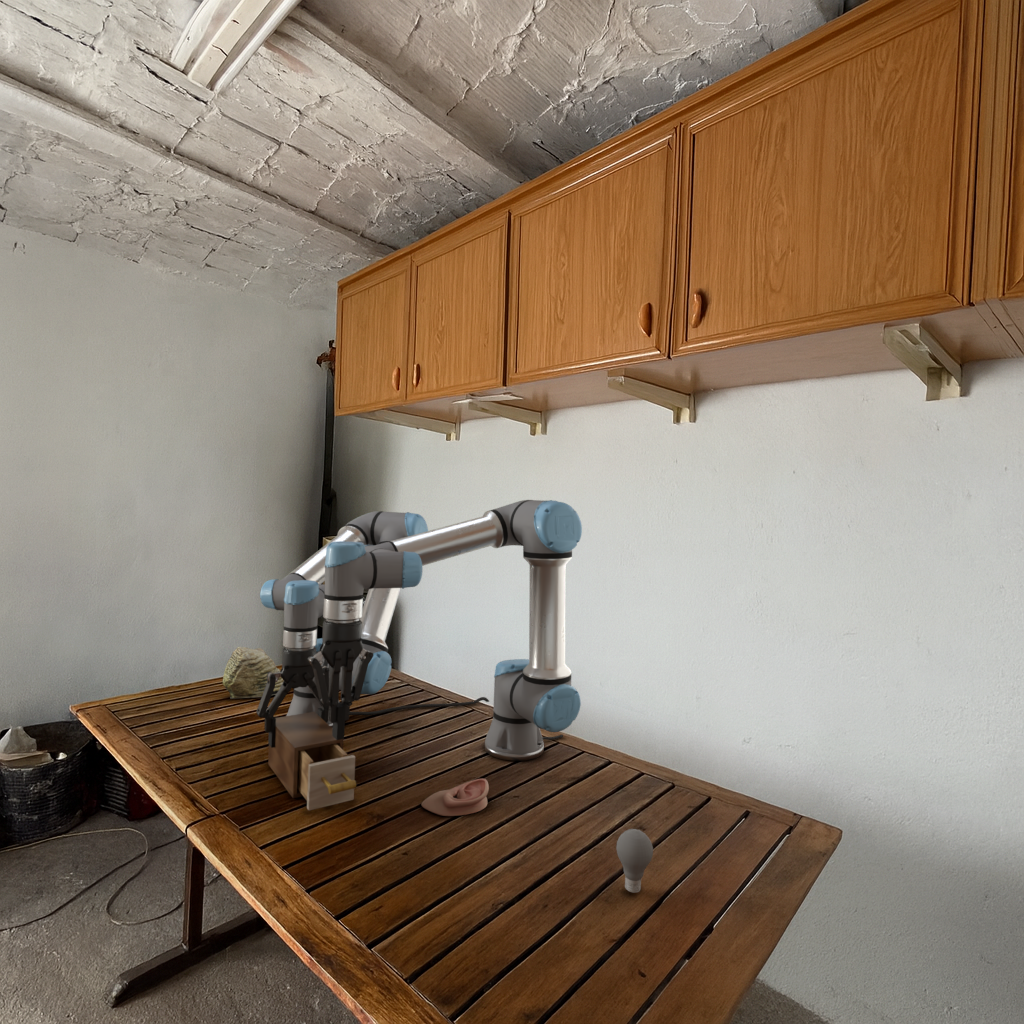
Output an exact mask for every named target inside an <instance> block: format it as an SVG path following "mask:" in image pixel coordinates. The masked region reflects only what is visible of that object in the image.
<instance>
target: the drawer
mask: <svg viewBox="0 0 1024 1024" xmlns="http://www.w3.org/2000/svg"><path fill="white" fill-rule="evenodd" d="M355 776H356V756H355V755H354V754H351V755H348V753H347V752H346V751H345V750H344V749H343V750H342V749H341V748H340V747H339V746H338V745H337V744H331V745H326V746H321V747H315V748H310V749H305V750H300V751H298V778H297V788H298V790H299V791H300V792H301V794H302V795H303V796H302V797H303V798H304V799H305V801H306V809H307V811H313V810H317V809H321V808H325V807H329V806H334V805H338V804H342V803H346V802H349V801H354V800H355V789H356V788H357V781H356V780H355V779H356V777H355Z"/></svg>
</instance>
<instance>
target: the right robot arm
mask: <svg viewBox="0 0 1024 1024" xmlns="http://www.w3.org/2000/svg"><path fill="white" fill-rule="evenodd" d="M582 534H583V525H582V521H581V517H580V515H579V514H578V512H577V511H576V510H575V509H574V508H573V507H572V506H571V505H570V504H568V503H566V502H563V501H558V500H554V499H549V500H541V499H540V500H539V499H538V500H537V499H536V500H535V499H523V500H519V501H516V502H515V501H514V502H512V503H509V504H506V505H502V506H499V507H496V508H494V509H490V510H486V511H485V512H484V513H483V514H482V516H479V517H476V518H471V519H469V520H465V521H461V522H457V523H453V524H449V525H445V526H442V527H439V528H435V529H431V530H428V531H427V532H423V533H419V534H415V535H412V536H408V537H404V538H401V539H397V540H393V541H390V542H386V543H382V544H378V545H364V544H363V543H361V542H348V541H337V542H331V543H330V544H329V545H328V546H327V550H326V560H325V581H324V585H325V594H324V610H323V617H322V618H324V621H323V622H322V635H321V636H322V637H321V638H322V645H321V647H320V651H319V652H318V653H317V654H315V655H314V656H309V657H308V661H309V663H310V664H311V666H312V667H313V672H314V676H315V681H316V686H317V691H318V695H319V700H320V702H322V703H323V704H324V705H328V706H329V716H328V719H329V721H330V722H331V723H333V728H332V736H333V737H334V738H335V739H336V740H341V739H345V731H346V729H345V728H346V727H345V726H346V721H349V720H350V715H349V714H350V713H349V712H351V711H350V709H351V706H352V705H353V702H355V701H359V700H360V698H361V695H362V694H361V691H362V687H363V683H364V679H365V675H366V671H367V668H368V664H369V662H370V661H371V659H372V658H373V653H372V652H370V651H368V650H365V649H364V648H363V644H362V642H361V636H362V622H361V620H359V619H360V618H361V617H362V609H363V606H364V590H369V589H372V588H401V589H404V590H405V588H406V589H407V588H415V587H417V586H418V585H419V584H420V583H421V581H422V579H423V568H424V567H423V566H426V565H430V564H434V563H437V562H441V561H445V560H447V559H451V558H454V557H458V556H461V555H464V554H467V553H471V552H475V551H478V550H481V549H484V548H489V547H492V548H493V549H499V548H503V547H510V546H519V547H520V546H521V547H522V550H523V551H522V558H523V559H524V560H525V561H526V562H527V564H528V565H529V600H528V601H529V609H528V610H529V614H528V615H529V616H528V617H529V621H528V623H529V624H528V626H529V629H528V631H529V633H528V635H529V637H528V639H529V640H528V641H529V642H528V643H529V644H528V651H529V652H528V658H527V659H526V658H514V659H505V660H501V661H499V662H498V663H497V664H496V665H495V669H494V676H493V678H494V683H493V686H494V687H493V688H494V689H493V708H492V709H493V710H492V711H493V713H492V720H491V723H490V726H489V729H488V731H487V734H486V737H485V740H484V750H485V752H486V753H487V754H488V755H490V756H492V757H493V758H496V759H500V760H503V761H510V762H522V761H531V760H534V759H537V758H539V757H540V756H542V755H543V754H544V752H545V743H544V741H555V740H558V739H562V738H564V734H559V735H556V736H543V735H542V731H541V730H544V731H547V732H549V733H558V732H563V731H564V730H566V729H568V728H569V727H570V726H571V725H572V724H573V722H574V721H575V720H576V719H577V718H578V716H579V713H580V711H581V706H582V699H581V695H580V693H579V691H577V689H576V687H575V686H573V685H572V670H571V668H569V667H568V665H567V664H566V590H567V589H566V585H567V584H566V577H567V576H566V575H567V574H566V570H567V569H566V568H567V567H566V566H567V564H568V563H569V562H570V561H571V560H572V559H573V550H574V549H575V548H576V547H577V546H578V543H580V541H581V539H582ZM359 654H360V655H359ZM358 656H359V658H360V659H359V661H358V664H357V668H356V672H355V676H354V679H353V683H352V671H353V663H354V661H355V660H356V659H357V657H358ZM323 657H324V659H325V660H326V661H327V663H328V664H329V693H328V692H327V687H326V682H325V677H324V672H323V668H322V666H321V664H322V663H323V661H322V658H323ZM341 668H342V681H341V690H339V675H340V671H341ZM339 696H340V697H339ZM339 698H340V699H339ZM338 699H339V700H340V701H339V702H340V703H338Z"/></svg>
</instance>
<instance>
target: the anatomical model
mask: <svg viewBox="0 0 1024 1024" xmlns="http://www.w3.org/2000/svg"><path fill="white" fill-rule="evenodd" d="M489 787H490V785H489V782H488V780H487V779H486V778H477V779H473V780H469V781H467V782H464V783H461V784H459V785H456V786H454V787H452V788H449V789H445V790H439V791H437V792H434V793H432V794H430V795H429V796H427V797H426V798H425V799H424V800H423V801H422V802H421V807H422V808H423V809H425V810H427V811H429V812H431V813H432V814H436V815H438V816H443V817H455V816H456V817H457V816H466V815H470V814H474V813H477V812H481V811H482V810H484V809H485V808H486V807H487V806H488V797H487V795H488V794H489V791H490V790H489Z"/></svg>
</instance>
